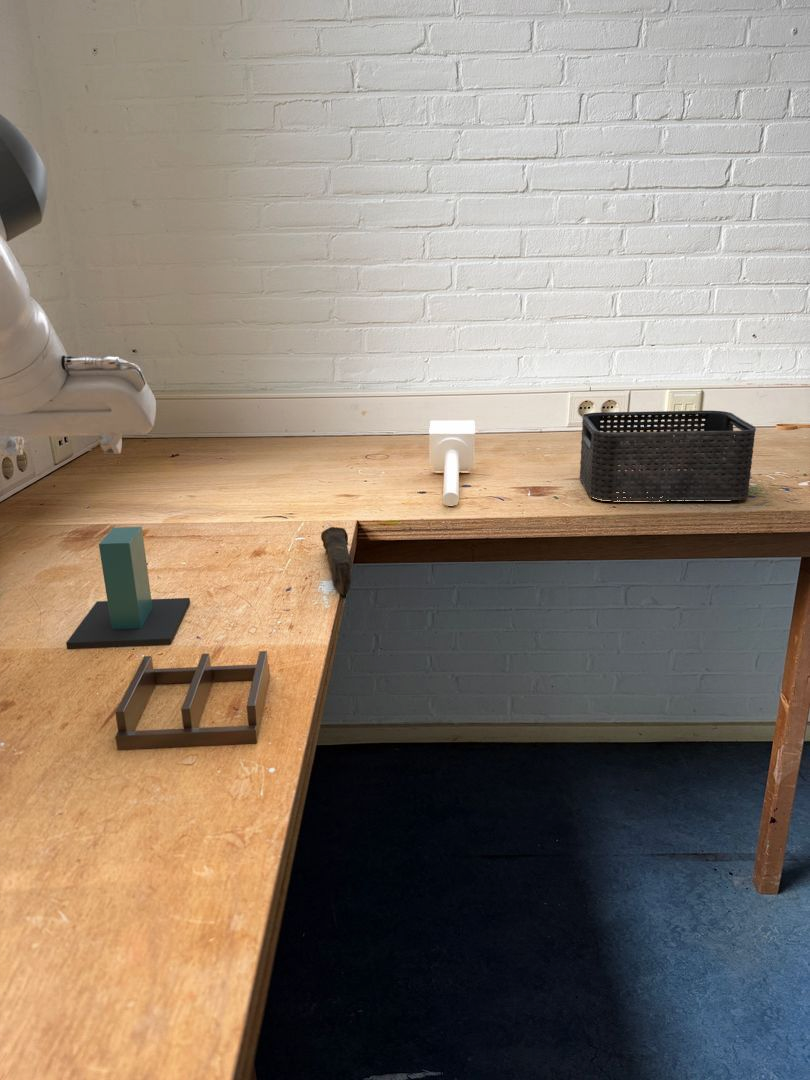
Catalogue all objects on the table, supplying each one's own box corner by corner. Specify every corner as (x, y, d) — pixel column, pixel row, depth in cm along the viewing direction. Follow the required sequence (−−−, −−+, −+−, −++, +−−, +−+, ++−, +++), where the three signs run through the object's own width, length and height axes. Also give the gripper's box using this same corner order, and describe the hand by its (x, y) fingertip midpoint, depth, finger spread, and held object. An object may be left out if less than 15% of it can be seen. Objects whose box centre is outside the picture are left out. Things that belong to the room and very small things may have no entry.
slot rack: (117, 750, 74) (112, 717, 72) (150, 681, 86) (146, 652, 84) (256, 743, 74) (254, 710, 73) (270, 675, 86) (267, 646, 85)
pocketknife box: (111, 629, 96) (98, 543, 92) (124, 609, 102) (113, 527, 98) (141, 628, 96) (129, 542, 92) (152, 608, 102) (142, 526, 98)
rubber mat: (66, 648, 93) (65, 642, 93) (97, 606, 104) (96, 601, 104) (171, 644, 94) (170, 638, 93) (190, 603, 105) (189, 597, 105)
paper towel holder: (474, 420, 169) (477, 477, 141) (473, 459, 173) (476, 522, 145) (430, 420, 170) (424, 477, 141) (430, 459, 174) (425, 521, 145)
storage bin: (591, 503, 144) (596, 430, 140) (576, 476, 163) (580, 410, 158) (753, 504, 143) (763, 430, 138) (719, 476, 161) (727, 410, 156)
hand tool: (322, 550, 123) (320, 522, 122) (348, 549, 124) (346, 520, 122) (323, 600, 105) (321, 567, 104) (354, 598, 106) (352, 566, 104)
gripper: (139, 328, 68) (174, 419, 81) (-109, 331, 67) (-34, 423, 79) (131, 388, 65) (170, 473, 78) (-127, 393, 64) (-46, 478, 77)
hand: (65, 448), depth 79 cm, fingers open, 8 cm apart
